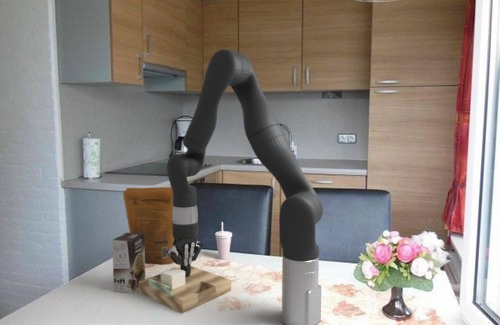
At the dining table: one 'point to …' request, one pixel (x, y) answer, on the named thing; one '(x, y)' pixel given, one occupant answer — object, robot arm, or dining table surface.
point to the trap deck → (186, 290)
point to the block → (173, 277)
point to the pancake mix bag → (151, 220)
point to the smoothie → (223, 243)
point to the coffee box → (128, 262)
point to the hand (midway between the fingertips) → (185, 276)
